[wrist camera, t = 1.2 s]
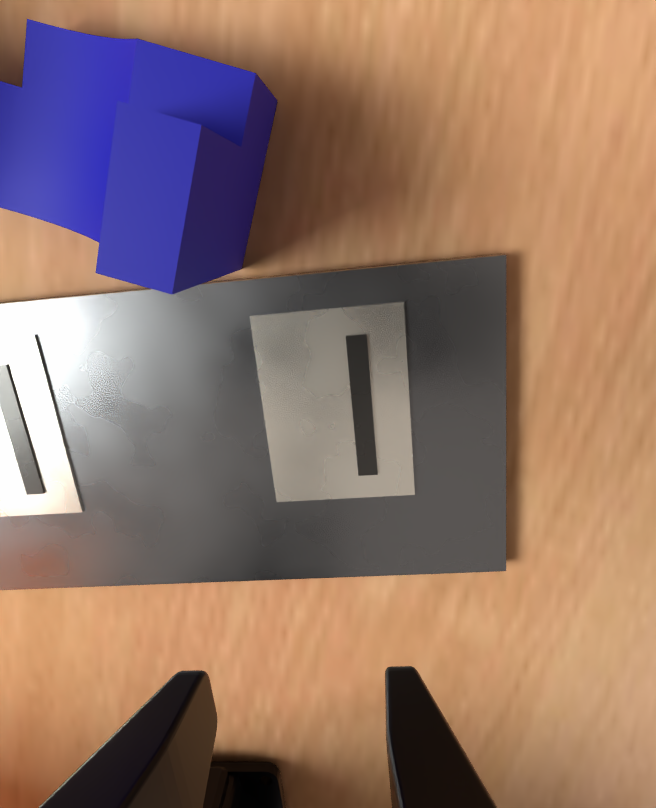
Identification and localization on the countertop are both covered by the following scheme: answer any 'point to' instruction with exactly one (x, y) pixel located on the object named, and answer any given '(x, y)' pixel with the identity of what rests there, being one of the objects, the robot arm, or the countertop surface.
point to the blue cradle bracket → (136, 153)
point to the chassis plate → (257, 429)
